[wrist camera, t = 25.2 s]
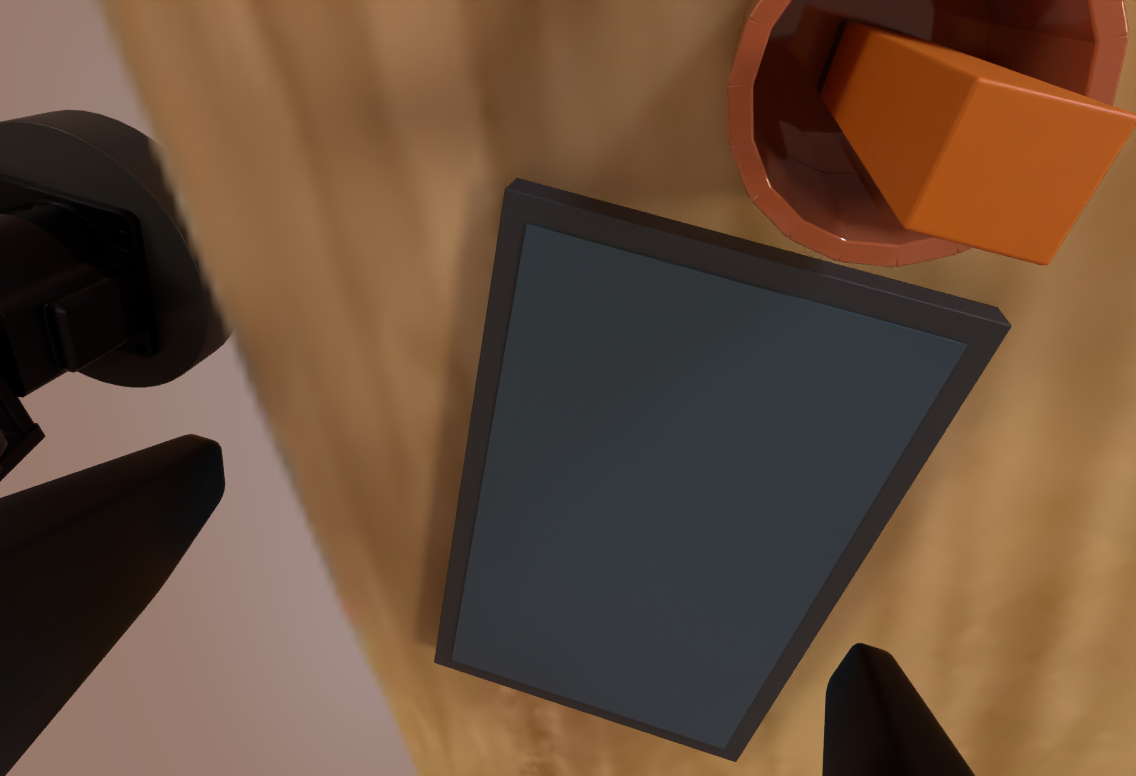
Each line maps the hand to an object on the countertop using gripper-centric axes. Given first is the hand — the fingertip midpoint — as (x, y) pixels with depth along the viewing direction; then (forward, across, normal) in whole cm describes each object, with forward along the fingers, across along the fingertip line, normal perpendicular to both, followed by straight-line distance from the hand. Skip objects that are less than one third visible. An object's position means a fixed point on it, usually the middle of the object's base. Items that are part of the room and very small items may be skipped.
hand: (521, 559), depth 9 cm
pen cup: (+13, -4, -6) cm, 15 cm away
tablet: (+13, -3, +10) cm, 17 cm away
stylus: (+12, -4, -6) cm, 14 cm away
